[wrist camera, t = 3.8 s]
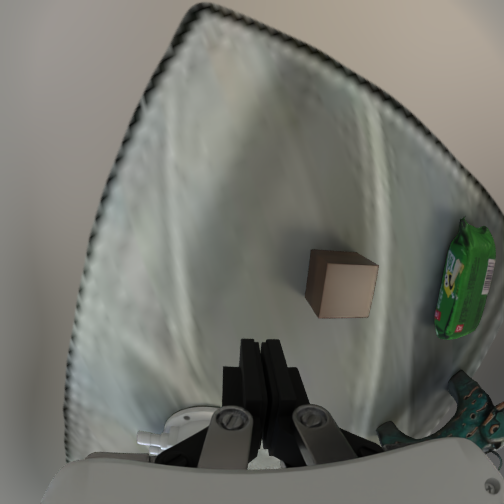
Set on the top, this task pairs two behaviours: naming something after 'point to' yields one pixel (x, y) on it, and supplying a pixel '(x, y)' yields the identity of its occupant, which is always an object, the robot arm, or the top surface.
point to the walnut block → (340, 284)
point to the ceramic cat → (462, 419)
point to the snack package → (465, 282)
